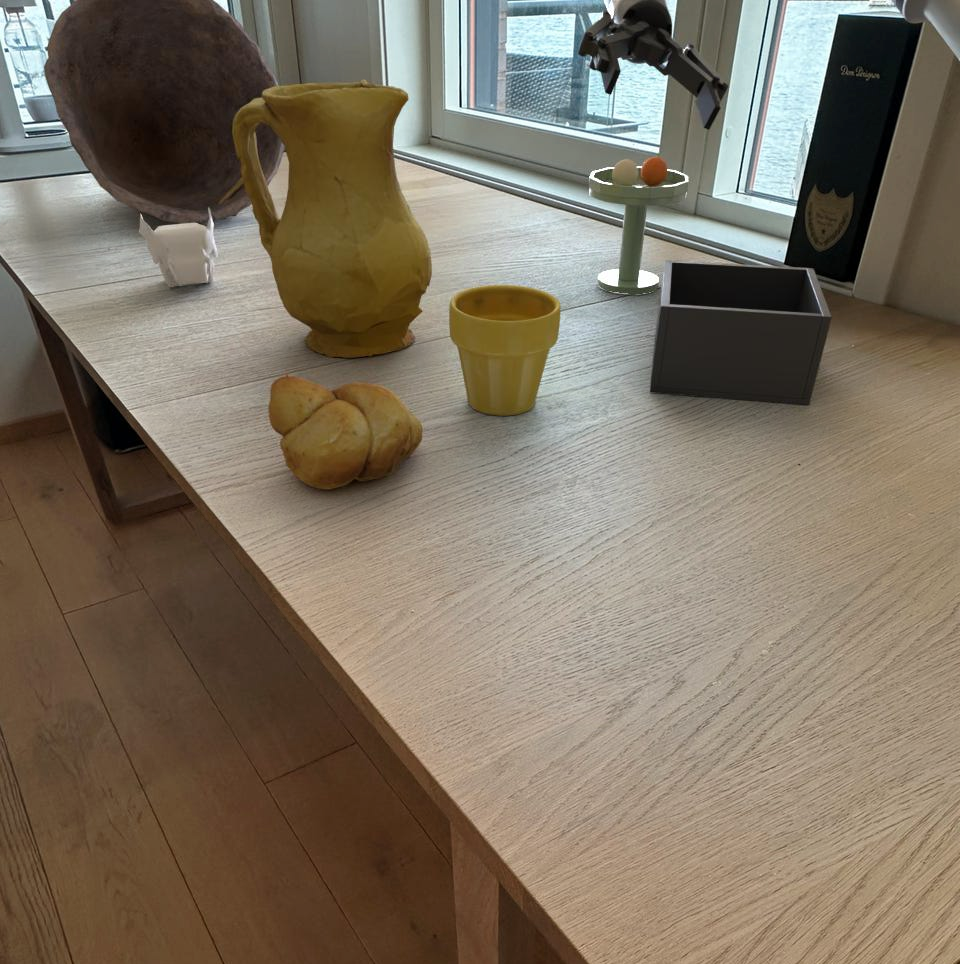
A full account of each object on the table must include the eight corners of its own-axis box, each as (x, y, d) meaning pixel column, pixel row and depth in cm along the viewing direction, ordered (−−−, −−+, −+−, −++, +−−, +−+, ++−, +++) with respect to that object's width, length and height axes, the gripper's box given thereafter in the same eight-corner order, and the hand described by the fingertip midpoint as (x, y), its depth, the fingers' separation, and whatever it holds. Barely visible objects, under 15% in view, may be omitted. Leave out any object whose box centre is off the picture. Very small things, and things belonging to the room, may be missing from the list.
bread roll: (406, 432, 80) (401, 346, 74) (448, 477, 73) (446, 387, 68) (270, 459, 75) (255, 370, 70) (300, 510, 68) (286, 416, 63)
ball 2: (665, 183, 108) (669, 155, 106) (664, 189, 106) (668, 160, 104) (639, 182, 108) (643, 154, 106) (638, 188, 106) (642, 158, 104)
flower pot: (576, 408, 84) (584, 306, 78) (489, 434, 79) (490, 328, 73) (514, 373, 90) (516, 277, 84) (430, 396, 86) (427, 296, 80)
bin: (794, 348, 96) (813, 268, 91) (809, 405, 84) (832, 316, 79) (654, 338, 99) (665, 259, 93) (649, 392, 87) (661, 306, 81)
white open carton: (159, 302, 108) (142, 226, 102) (148, 276, 116) (131, 204, 111) (235, 293, 111) (222, 219, 105) (219, 268, 119) (206, 198, 114)
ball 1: (637, 186, 107) (640, 157, 105) (636, 192, 104) (639, 162, 102) (611, 185, 107) (614, 156, 105) (609, 191, 105) (612, 161, 103)
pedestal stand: (674, 275, 117) (688, 168, 109) (672, 303, 108) (688, 189, 100) (586, 270, 119) (594, 165, 111) (577, 297, 110) (586, 184, 102)
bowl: (107, 6, 148) (119, -92, 122) (280, 151, 164) (325, 92, 138) (4, 172, 146) (-5, 108, 119) (190, 302, 162) (218, 272, 136)
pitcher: (352, 376, 88) (322, 90, 74) (247, 342, 99) (202, 84, 84) (466, 338, 99) (459, 79, 84) (360, 310, 109) (337, 76, 94)
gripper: (706, 80, 122) (735, 160, 111) (544, 19, 115) (557, 99, 104) (735, 22, 116) (768, 101, 105) (566, -45, 109) (582, 32, 98)
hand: (663, 100), depth 104 cm, fingers open, 13 cm apart
